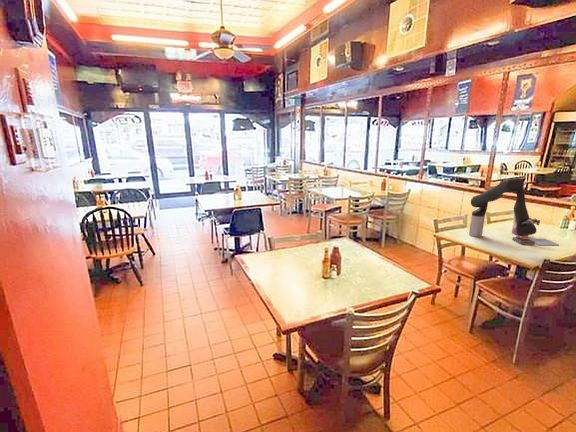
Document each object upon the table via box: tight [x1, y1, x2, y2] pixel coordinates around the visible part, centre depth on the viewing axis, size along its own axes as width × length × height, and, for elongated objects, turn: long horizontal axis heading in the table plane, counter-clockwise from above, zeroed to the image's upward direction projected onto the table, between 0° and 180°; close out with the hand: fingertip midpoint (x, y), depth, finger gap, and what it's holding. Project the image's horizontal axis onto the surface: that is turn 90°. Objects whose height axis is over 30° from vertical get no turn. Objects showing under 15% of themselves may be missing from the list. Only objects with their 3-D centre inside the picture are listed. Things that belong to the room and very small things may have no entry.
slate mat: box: [530, 238, 559, 246], centre depth 239 cm, size 14×14×1 cm
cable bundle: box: [519, 235, 529, 241], centre depth 239 cm, size 5×5×14 cm
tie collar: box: [512, 235, 536, 245], centre depth 241 cm, size 12×10×2 cm
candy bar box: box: [511, 215, 520, 237], centre depth 255 cm, size 11×5×16 cm, turn 179°
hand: (527, 218), depth 226 cm, fingers open, 8 cm apart
